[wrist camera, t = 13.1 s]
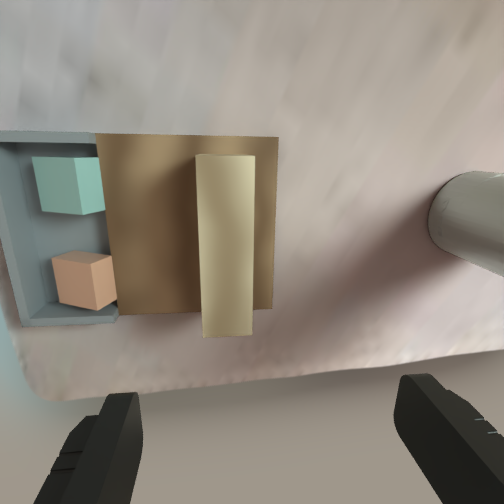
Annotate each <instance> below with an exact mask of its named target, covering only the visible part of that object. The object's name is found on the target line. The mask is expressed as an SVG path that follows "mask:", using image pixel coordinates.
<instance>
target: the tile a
mask: <svg viewBox="0 0 504 504" xmlns="http://www.w3.org/2000/svg"><path fill="white" fill-rule="evenodd" d="M32 162H33V167H34V172H35V177H36V182H37V187H38V192H39V197H40V203H41V208H42V211H47V212H57V213H67V214H77V215H85V214H90V213H94V212H99V211H103V210H105V203H104V195H103V187H102V180H101V172H100V165H99V157H64V156H47V157H32Z"/></svg>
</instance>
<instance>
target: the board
mask: <svg viewBox="0 0 504 504" xmlns="http://www.w3.org/2000/svg"><path fill="white" fill-rule="evenodd" d="M95 137H96V145H97V153H98V157H99V165H100V172H101V180H102V187H103V195H104V203H105V213H106V221H107V229H108V236H109V244H110V251H111V256H112V263H113V271H114V279H115V286H116V294H117V305H118V312H119V315H135V314H159V313H183V312H202V306H201V281H200V256H199V232H198V207H197V182H196V158H195V155H198V154H239V155H252V156H255V195H254V258H253V310H256V309H272V295H273V269H274V243H275V217H276V191H277V165H278V139H279V137H249V136H200V135H151V134H101V133H95Z"/></svg>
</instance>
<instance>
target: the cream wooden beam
mask: <svg viewBox="0 0 504 504" xmlns="http://www.w3.org/2000/svg"><path fill="white" fill-rule="evenodd" d="M195 158H196V182H197V207H198V232H199V256H200V281H201V306H202V331H203V338H207V337H227V336H246V335H252V321H253V258H254V195H255V156H252V155H239V154H198V155H195Z"/></svg>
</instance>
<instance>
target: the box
mask: <svg viewBox="0 0 504 504" xmlns="http://www.w3.org/2000/svg"><path fill="white" fill-rule="evenodd" d="M47 156H64V157H98V153H97V145H96V137H95V133H89V132H43V131H0V239H1V243H2V247H3V251H4V255H5V259H6V264H7V268H8V272H9V276H10V280H11V284H12V288H13V292H14V297H15V301H16V305H17V309H18V313H19V317H20V321H21V325H22V327H34V326H57V325H80V324H103V323H115V321H116V319H117V318H118V316H119V312H118V305H117V299H116V300H115V301H113V302H111V303H110V304H108V305H106V306H105V307H103V308H101V309H100V310H98V311H97V310H92V309H87V308H83V307H78V306H73V305H69V304H64V303H60V300H59V295H58V290H57V285H56V280H55V275H54V269H53V264H52V259H51V258H53V257H56V256H59V255H62V254H65V253H68V252H70V251H73V250H76V251H83V252H90V253H97V254H104V255H111V251H110V244H109V236H108V229H107V221H106V213H105V210H103V211H99V212H94V213H90V214H85V215H77V214H67V213H57V212H47V211H42V208H41V203H40V197H39V192H38V187H37V182H36V177H35V172H34V167H33V162H32V157H47Z"/></svg>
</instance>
